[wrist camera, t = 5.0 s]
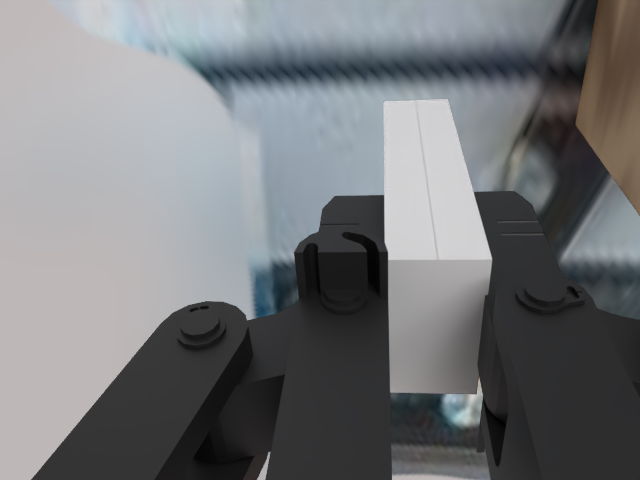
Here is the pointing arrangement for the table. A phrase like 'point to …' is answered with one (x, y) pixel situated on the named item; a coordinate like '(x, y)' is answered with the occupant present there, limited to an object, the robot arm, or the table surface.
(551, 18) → the table surface
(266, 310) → the table surface
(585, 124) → the block
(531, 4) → the table surface
